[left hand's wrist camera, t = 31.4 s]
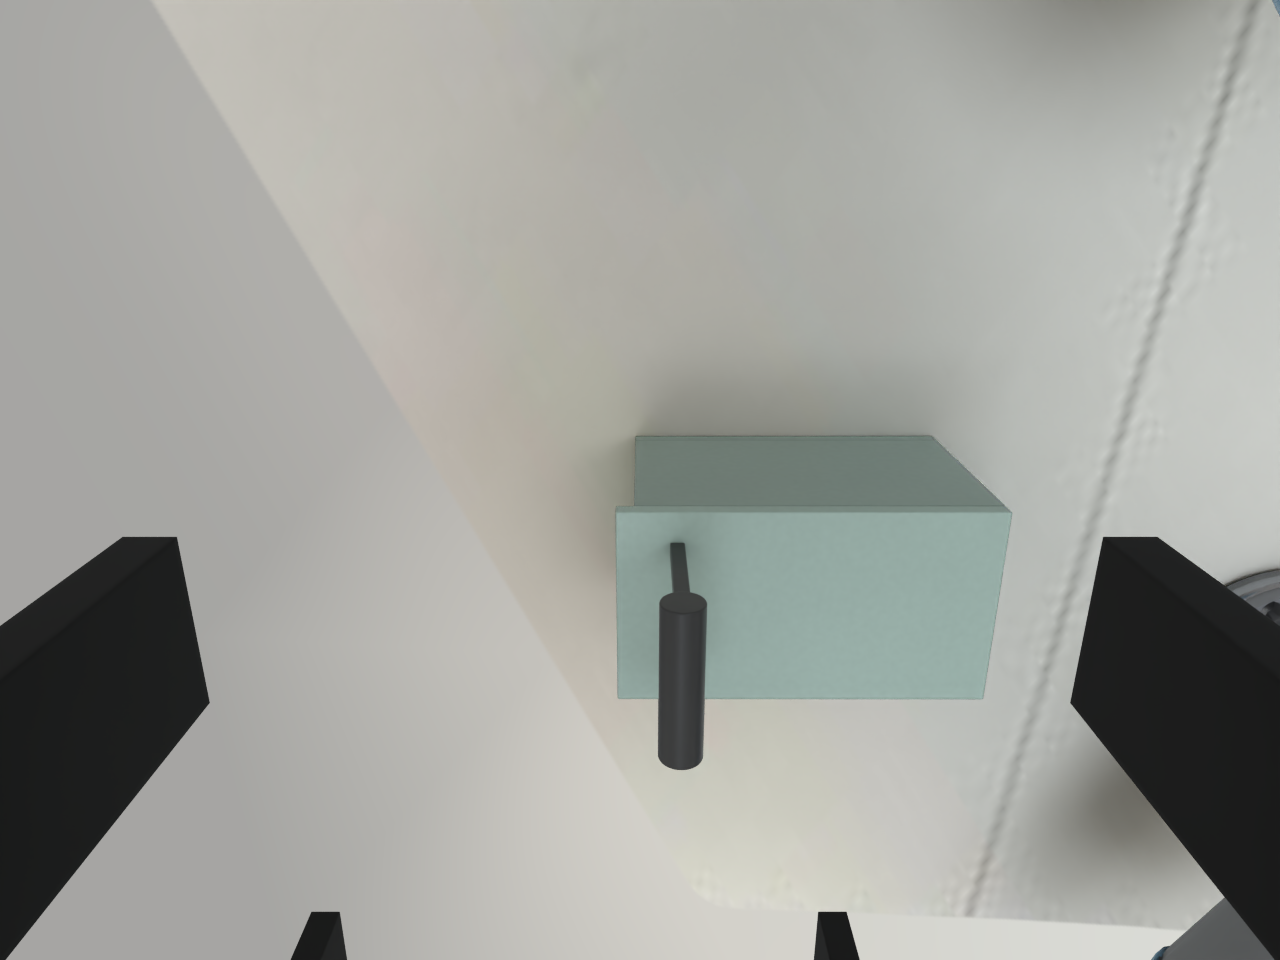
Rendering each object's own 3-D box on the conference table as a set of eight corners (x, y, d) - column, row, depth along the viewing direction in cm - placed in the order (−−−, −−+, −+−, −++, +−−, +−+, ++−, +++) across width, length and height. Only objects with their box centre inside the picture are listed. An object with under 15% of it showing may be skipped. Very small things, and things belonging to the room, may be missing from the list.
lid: (618, 690, 44) (613, 797, 37) (615, 505, 41) (610, 582, 33) (977, 690, 44) (1045, 797, 37) (1006, 505, 41) (1086, 582, 33)
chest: (636, 590, 55) (634, 690, 44) (635, 436, 51) (634, 505, 41) (913, 590, 55) (977, 689, 44) (932, 435, 51) (1005, 505, 41)
